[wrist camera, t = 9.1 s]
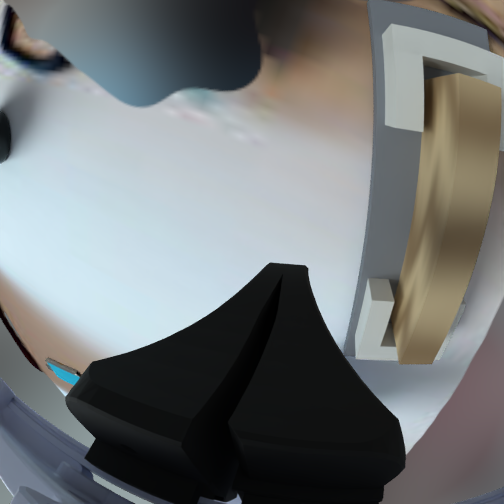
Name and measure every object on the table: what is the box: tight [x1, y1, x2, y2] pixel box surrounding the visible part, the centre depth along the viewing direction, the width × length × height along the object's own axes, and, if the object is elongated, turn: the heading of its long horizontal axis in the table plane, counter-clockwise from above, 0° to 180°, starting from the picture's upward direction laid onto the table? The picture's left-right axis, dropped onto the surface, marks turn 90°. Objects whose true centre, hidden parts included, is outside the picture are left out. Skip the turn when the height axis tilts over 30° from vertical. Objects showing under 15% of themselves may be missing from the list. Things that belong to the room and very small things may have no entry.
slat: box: [390, 73, 502, 364], centre depth 13 cm, size 16×2×5 cm, turn 3°
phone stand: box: [45, 358, 81, 385], centre depth 45 cm, size 20×12×2 cm, turn 98°
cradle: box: [344, 0, 504, 361], centre depth 14 cm, size 26×8×4 cm, turn 3°
